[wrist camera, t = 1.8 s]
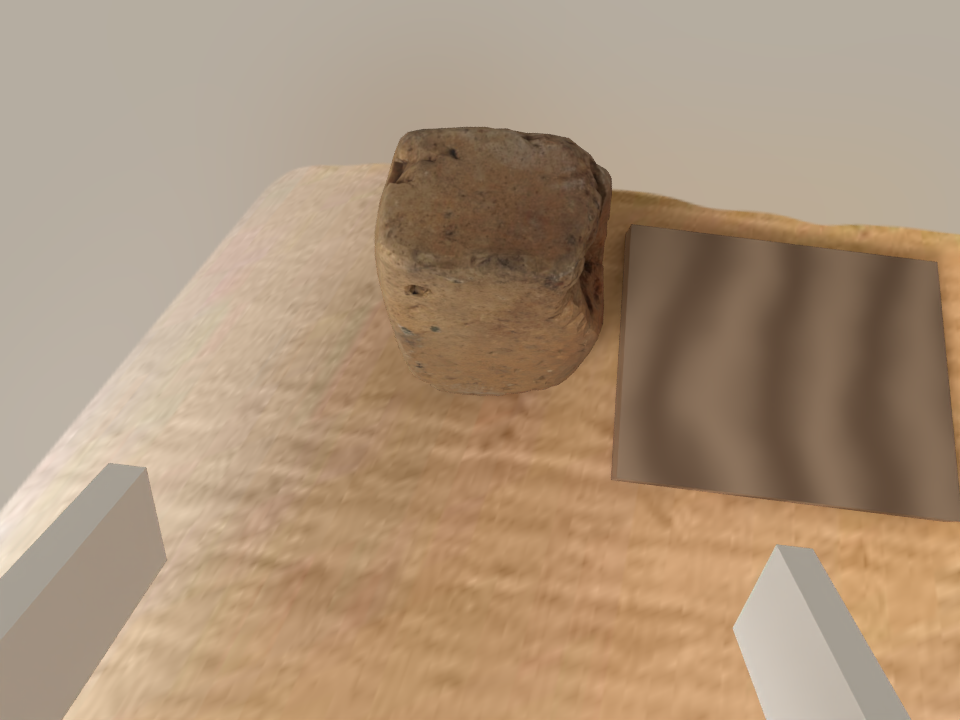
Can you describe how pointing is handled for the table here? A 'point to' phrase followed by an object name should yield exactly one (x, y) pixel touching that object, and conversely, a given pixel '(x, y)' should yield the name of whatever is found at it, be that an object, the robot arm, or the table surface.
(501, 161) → the block
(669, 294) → the walnut board
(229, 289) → the table surface
